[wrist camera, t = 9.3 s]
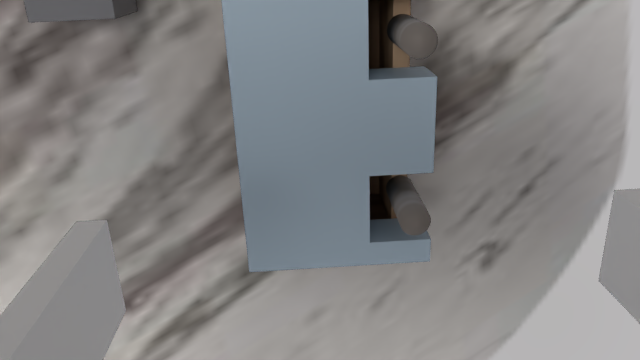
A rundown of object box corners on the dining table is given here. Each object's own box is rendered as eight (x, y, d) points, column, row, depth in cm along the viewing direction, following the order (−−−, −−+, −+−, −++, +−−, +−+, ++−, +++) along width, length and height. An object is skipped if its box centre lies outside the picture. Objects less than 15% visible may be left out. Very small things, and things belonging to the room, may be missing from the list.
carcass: (250, -34, 29) (233, -32, 21) (398, -41, 29) (440, -41, 21) (270, 207, 34) (263, 287, 26) (395, 200, 34) (428, 277, 26)
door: (225, -32, 24) (218, -31, 22) (427, -41, 24) (441, -41, 22) (252, 247, 29) (249, 271, 27) (419, 237, 30) (429, 261, 27)
